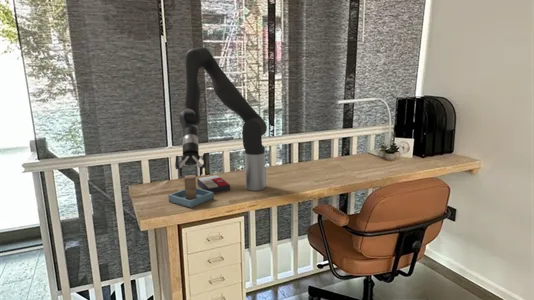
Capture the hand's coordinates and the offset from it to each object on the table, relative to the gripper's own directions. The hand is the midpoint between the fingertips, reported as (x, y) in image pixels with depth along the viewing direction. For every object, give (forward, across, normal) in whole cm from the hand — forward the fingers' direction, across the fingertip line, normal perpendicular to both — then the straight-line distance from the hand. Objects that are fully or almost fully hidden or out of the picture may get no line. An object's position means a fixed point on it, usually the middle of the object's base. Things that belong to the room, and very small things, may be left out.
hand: (191, 175), depth 183 cm
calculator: (+3, +10, +9) cm, 14 cm away
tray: (+14, 0, -3) cm, 14 cm away
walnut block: (+13, 0, -3) cm, 13 cm away
